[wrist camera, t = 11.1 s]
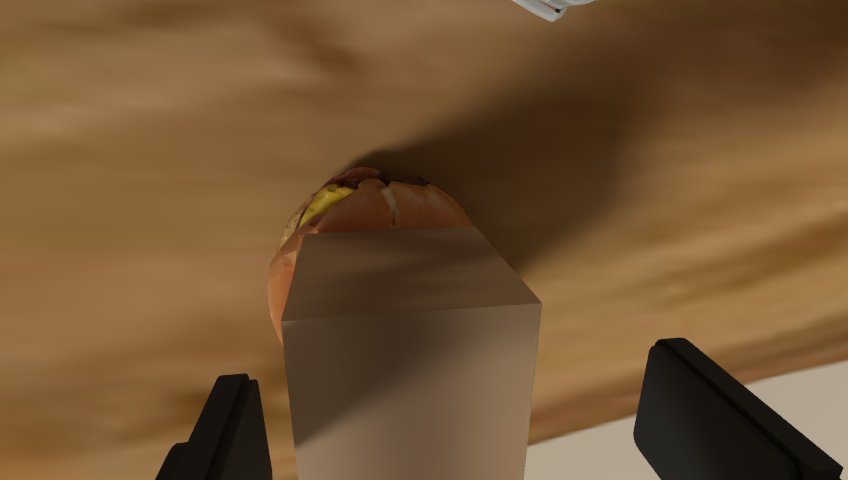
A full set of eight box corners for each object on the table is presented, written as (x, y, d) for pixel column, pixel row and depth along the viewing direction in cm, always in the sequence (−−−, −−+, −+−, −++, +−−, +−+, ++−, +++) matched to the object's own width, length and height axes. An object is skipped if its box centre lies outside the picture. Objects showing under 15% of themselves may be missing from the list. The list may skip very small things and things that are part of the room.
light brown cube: (475, 226, 16) (542, 303, 11) (469, 367, 18) (521, 493, 13) (304, 233, 15) (280, 321, 10) (317, 381, 17) (303, 523, 12)
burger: (424, 379, 24) (441, 446, 19) (246, 324, 21) (220, 386, 17) (513, 212, 22) (555, 245, 17) (326, 127, 19) (319, 140, 15)
